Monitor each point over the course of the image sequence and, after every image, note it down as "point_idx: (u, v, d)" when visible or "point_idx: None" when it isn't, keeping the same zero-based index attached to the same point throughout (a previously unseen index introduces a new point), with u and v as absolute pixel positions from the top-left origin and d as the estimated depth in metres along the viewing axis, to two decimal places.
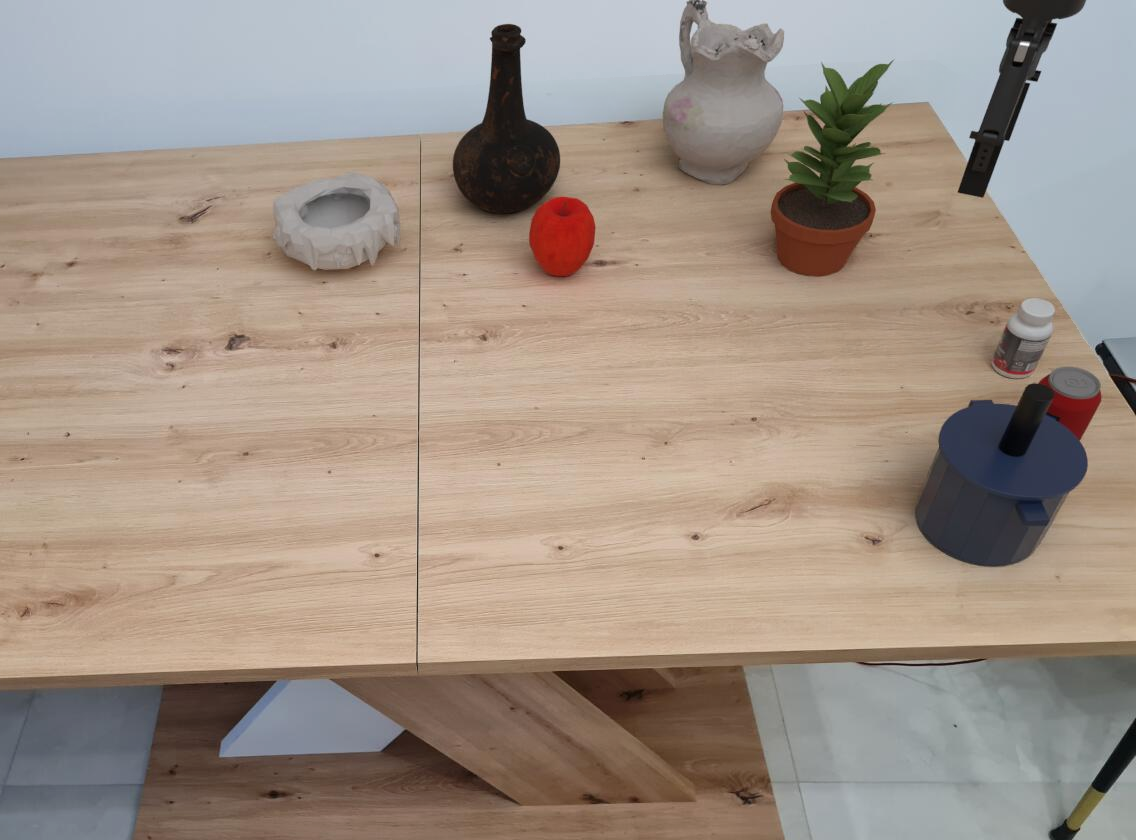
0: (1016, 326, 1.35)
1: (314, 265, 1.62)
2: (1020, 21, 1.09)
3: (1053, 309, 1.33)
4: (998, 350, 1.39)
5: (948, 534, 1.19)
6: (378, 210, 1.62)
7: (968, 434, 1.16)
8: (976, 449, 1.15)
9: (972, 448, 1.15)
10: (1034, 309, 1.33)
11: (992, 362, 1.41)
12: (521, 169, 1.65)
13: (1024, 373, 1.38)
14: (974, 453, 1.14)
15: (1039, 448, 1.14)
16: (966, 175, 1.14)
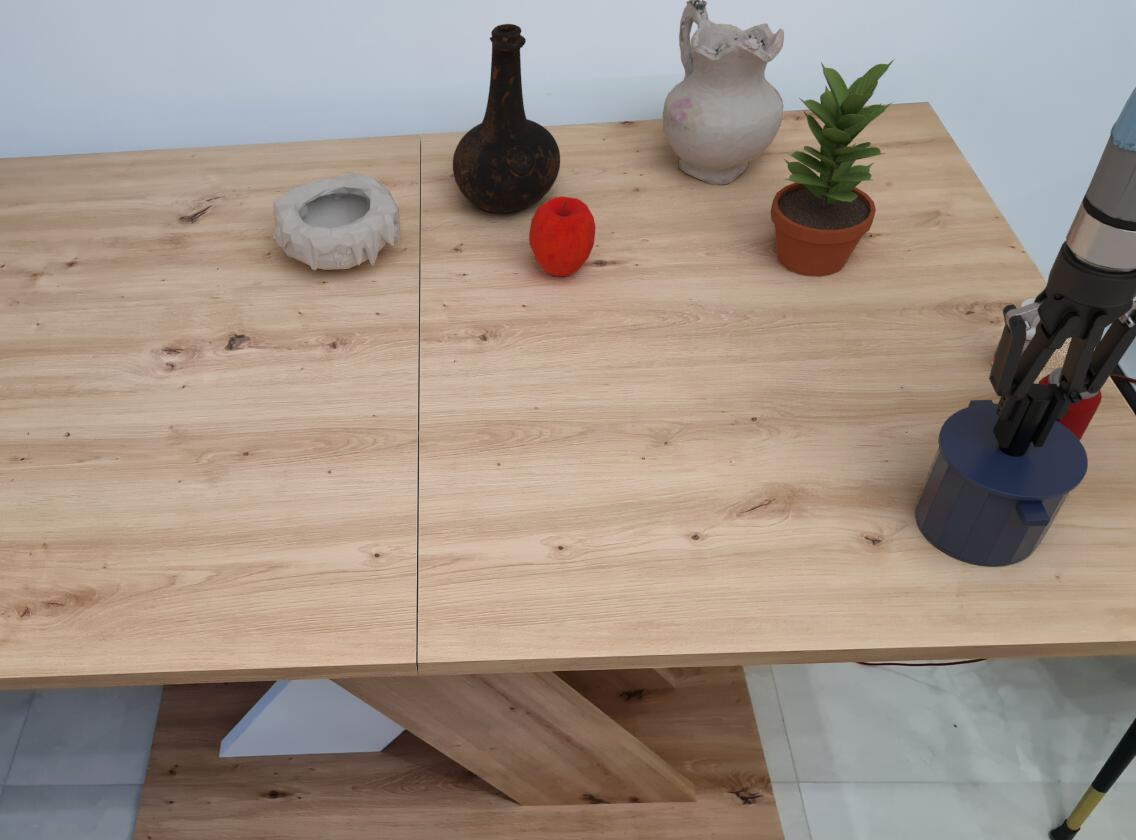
0: None
1: (314, 265, 1.62)
2: None
3: None
4: None
5: (948, 534, 1.19)
6: (378, 210, 1.62)
7: (968, 434, 1.16)
8: (976, 449, 1.15)
9: (972, 448, 1.15)
10: None
11: (992, 362, 1.41)
12: (521, 169, 1.65)
13: None
14: (974, 453, 1.14)
15: (1039, 448, 1.14)
16: None
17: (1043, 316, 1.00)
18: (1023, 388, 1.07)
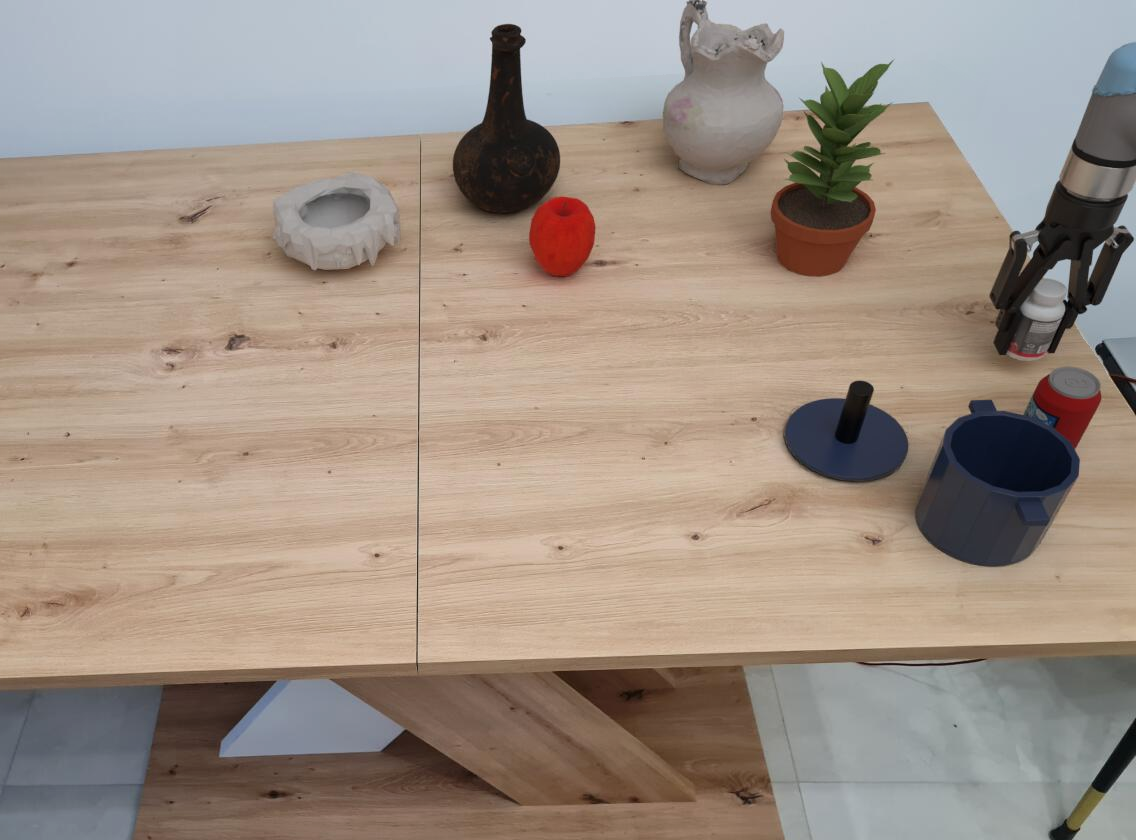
0: (1027, 307, 1.32)
1: (314, 265, 1.62)
2: None
3: (1065, 289, 1.31)
4: None
5: (948, 534, 1.19)
6: (378, 210, 1.62)
7: (810, 424, 1.35)
8: (815, 437, 1.33)
9: (812, 437, 1.33)
10: (1045, 289, 1.31)
11: None
12: (521, 169, 1.65)
13: (1035, 356, 1.36)
14: (813, 441, 1.33)
15: (869, 436, 1.32)
16: (999, 331, 1.38)
17: (1042, 241, 1.26)
18: (1018, 302, 1.32)
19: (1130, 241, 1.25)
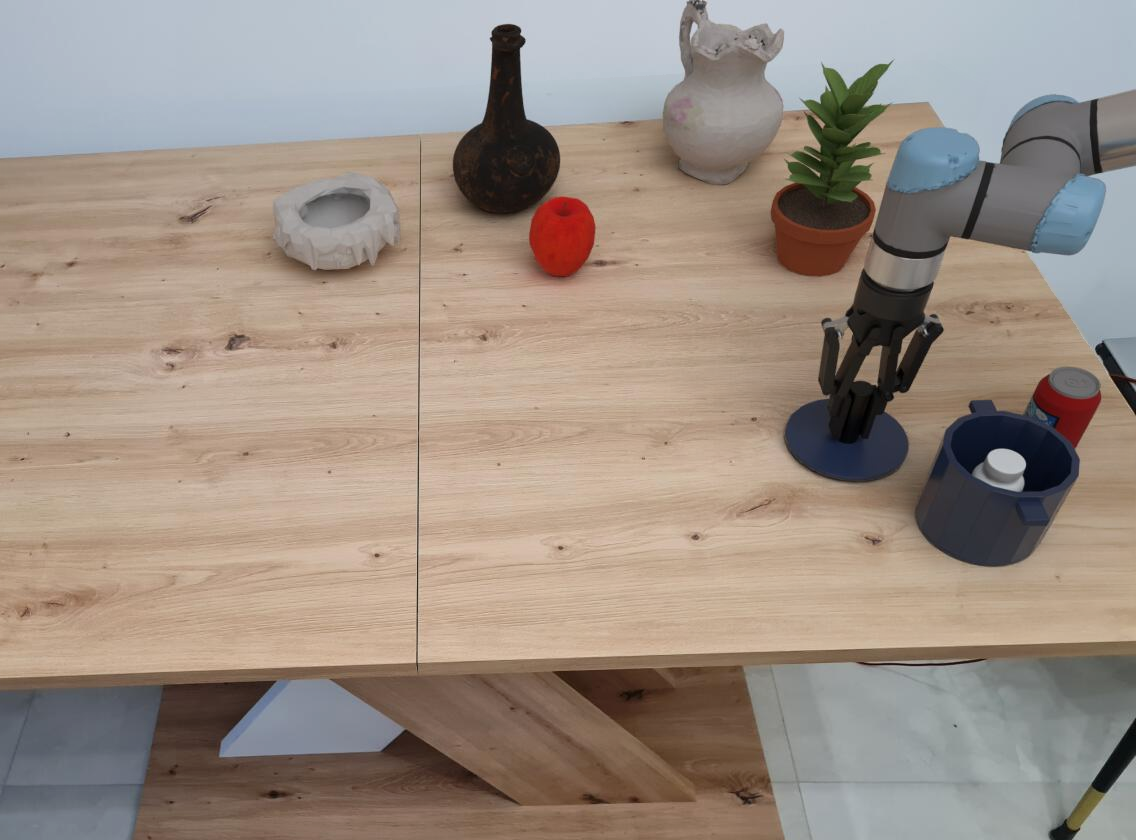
0: None
1: (314, 265, 1.62)
2: None
3: (1024, 463, 1.15)
4: None
5: (948, 534, 1.19)
6: (378, 210, 1.62)
7: (810, 424, 1.35)
8: (815, 437, 1.33)
9: (812, 437, 1.33)
10: (1002, 463, 1.16)
11: None
12: (521, 169, 1.65)
13: None
14: (813, 441, 1.33)
15: (869, 436, 1.32)
16: None
17: (851, 328, 1.19)
18: (844, 388, 1.25)
19: (940, 332, 1.19)
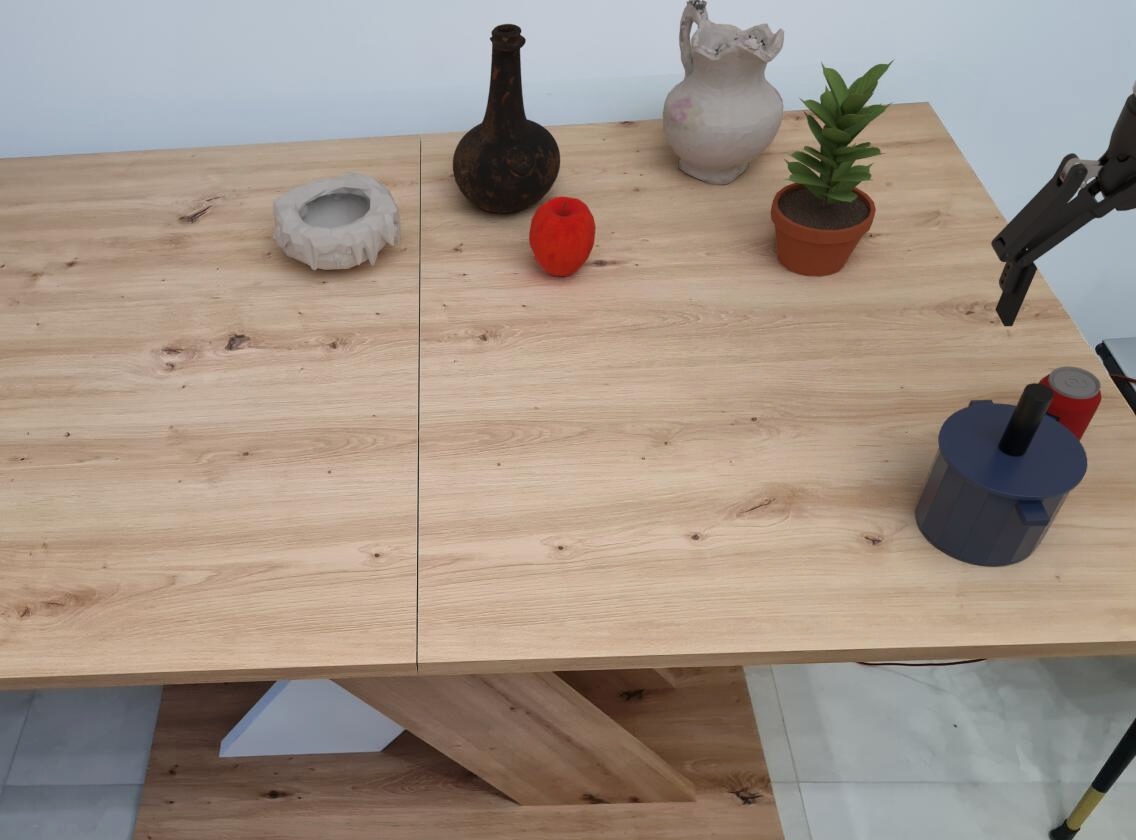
0: None
1: (314, 265, 1.62)
2: None
3: None
4: None
5: (948, 534, 1.19)
6: (378, 210, 1.62)
7: (968, 434, 1.16)
8: (976, 449, 1.15)
9: (971, 448, 1.15)
10: None
11: None
12: (521, 169, 1.65)
13: None
14: (974, 453, 1.14)
15: (1039, 448, 1.14)
16: (1003, 293, 1.01)
17: (1104, 182, 0.90)
18: (1035, 253, 0.95)
19: None
